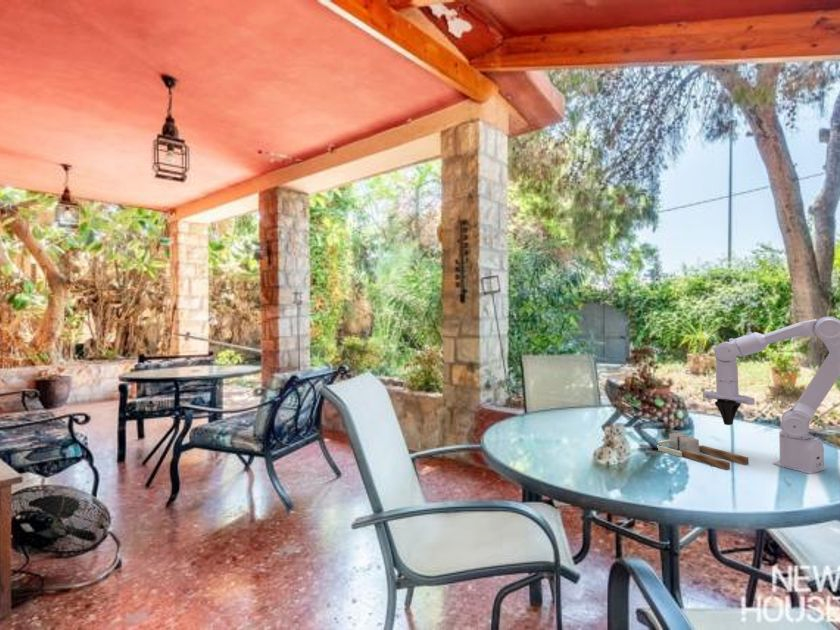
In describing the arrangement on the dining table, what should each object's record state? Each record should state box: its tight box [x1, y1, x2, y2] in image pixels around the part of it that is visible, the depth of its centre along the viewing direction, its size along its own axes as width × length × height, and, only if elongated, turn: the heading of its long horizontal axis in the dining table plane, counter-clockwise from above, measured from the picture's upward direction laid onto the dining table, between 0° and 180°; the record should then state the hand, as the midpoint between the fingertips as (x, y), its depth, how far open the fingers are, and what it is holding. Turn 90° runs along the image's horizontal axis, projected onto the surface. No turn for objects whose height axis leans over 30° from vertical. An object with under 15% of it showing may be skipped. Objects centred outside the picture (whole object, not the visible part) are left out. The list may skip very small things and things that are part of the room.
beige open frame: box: [657, 439, 701, 458], centre depth 151 cm, size 11×12×2 cm
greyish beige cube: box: [668, 432, 690, 451], centre depth 153 cm, size 4×4×4 cm
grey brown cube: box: [678, 436, 700, 454], centre depth 149 cm, size 4×4×4 cm
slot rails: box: [680, 445, 750, 471], centre depth 140 cm, size 14×10×2 cm
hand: (728, 424), depth 144 cm, fingers closed
